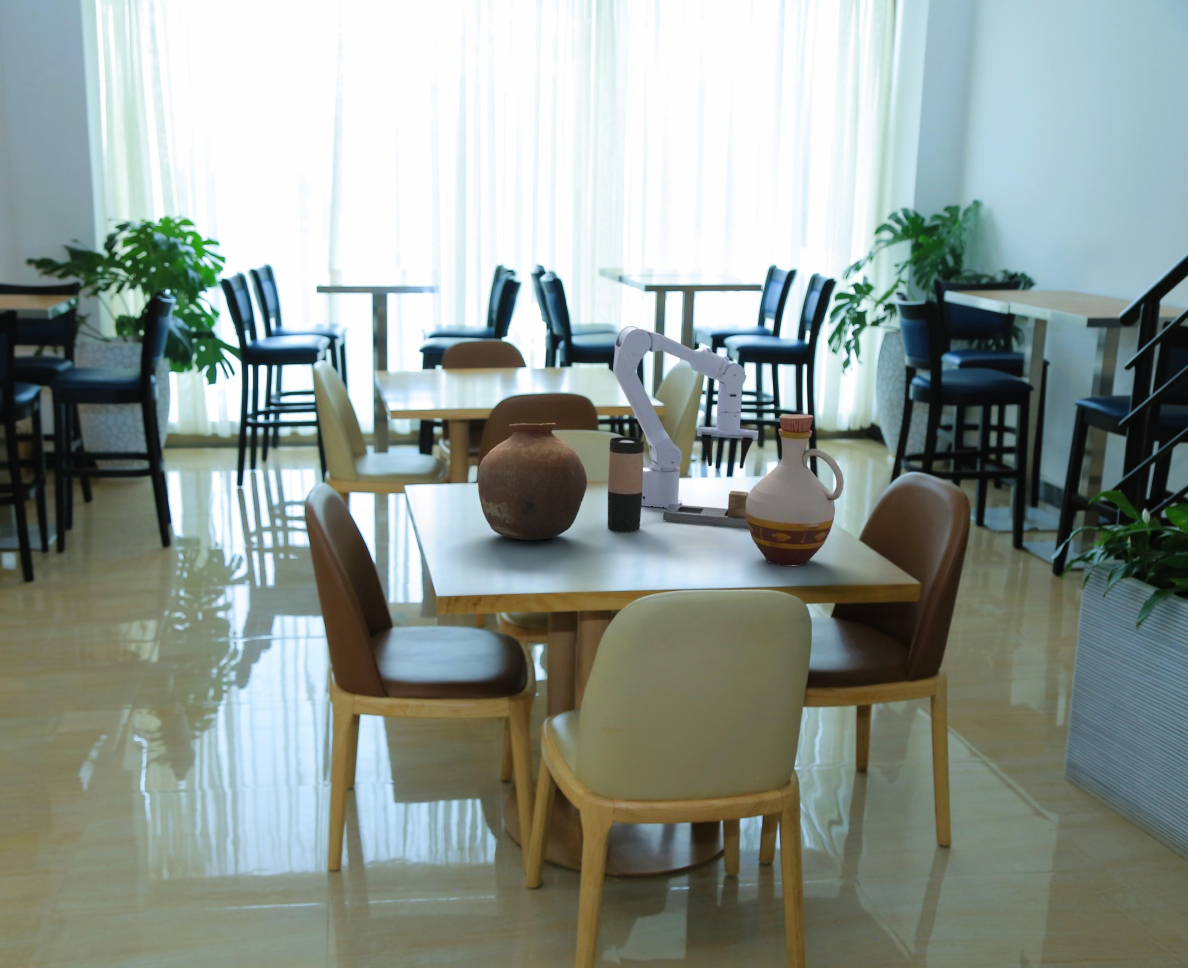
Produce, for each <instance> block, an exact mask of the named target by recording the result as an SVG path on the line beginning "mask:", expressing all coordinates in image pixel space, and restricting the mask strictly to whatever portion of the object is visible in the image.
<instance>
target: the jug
mask: <svg viewBox="0 0 1188 968" xmlns="http://www.w3.org/2000/svg"><path fill="white" fill-rule="evenodd" d="M813 420H814V415H812V414H784V415H780V416H779V423H780V427H781V428H778V434H779V436H780V440H781V461H780V462H779V463H778V464H777V466H775V467H774V468H773V469H772V470H771V471H770V472H769V473H767V474H766V475H765V476H763V478H761V479H760V480H759V481H758V482H757V483H755V485H754V486H753V487H752V488H751V490H750V491H749V492H748V497H747V501H746V518H747V523H748V528H747V529H748V530H749V533H750V537H751V539H752V540H753V542H754V543H755V546H756V547H757V549H758V550H759V551H760V552H761V554H762V555H763V557H764V559H766V561H767V562H768V561H769V563H770V562H771V564H773V563H774V565H777V564H779V565H778V566H782V565H800V566H803V565H802V564H804V565H806V564H807V563H808V562H809V561H810V560H811V559H812V558H813V557H814V556H815V555H816V554H817V553H818V552H819V550H820V549H821V548H822V546H824V544H825V542H826V541H827V538H828V536H829V535H830V532H831V529H832V526H833V523H834V521H835V515H836V514H835V513H836V507H835V506H836V505H835V501H836V500H837V499H839V498H840V497H841V495H842V493H843V491H844V483H845V481H844V480H845V479H844V475H843V472H842V470H841V468H840V466H839V464H838V463H837V461H836V460H835V459H834V458H833V457H832V456H831V455H829V454H828V453H827V452H825V451H823V450H821V449H817V448H810V449H807V447H808V443H809V440H810V438H811V437H812V433H813V431H812V430H811V426H812V423H813ZM810 457H818V458H820V459H822V460H823V461H824V462H825V463H826V464H827V465H828V466H829V468H830V469H831V470H832V472H833V474H834V477H835V481H836V482H835V483H836V486H835V489H834V492H832V493H831V492H830V490H829V489H828V487H827V486H825V484H824V483H822V481H821V480H820V479H819V478H818V477H817V476H816V475H815V474H814V473H813V471H812V470H811V469H810V468H809V466H808V461H809V460H808V459H809V458H810ZM805 563H806V564H805Z"/></svg>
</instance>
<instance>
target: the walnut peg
mask: <svg viewBox="0 0 1188 968" xmlns="http://www.w3.org/2000/svg"><path fill="white" fill-rule="evenodd" d="M748 494H749V491H739V490H730V492H729V493H728V500H727V501H728V505H727V509H728V516H733V517H745V518H746V501H747V497H748Z"/></svg>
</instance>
